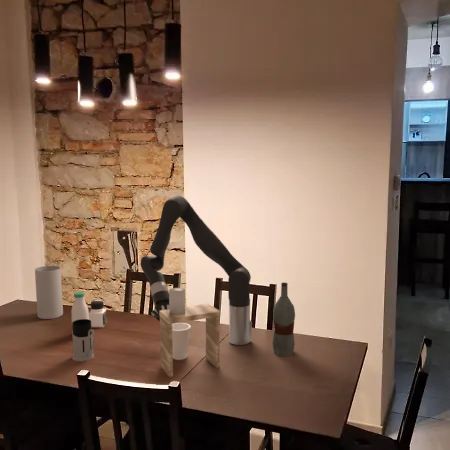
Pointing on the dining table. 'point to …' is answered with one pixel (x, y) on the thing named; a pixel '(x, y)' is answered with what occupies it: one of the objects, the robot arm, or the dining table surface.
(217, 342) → the beige hollow frame
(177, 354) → the foam cup
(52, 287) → the cylinder vase
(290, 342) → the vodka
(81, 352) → the glass holder
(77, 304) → the milk bottle
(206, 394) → the dining table surface
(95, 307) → the medicine bottle
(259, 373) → the dining table surface
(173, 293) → the beige upright cylinder
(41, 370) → the dining table surface
